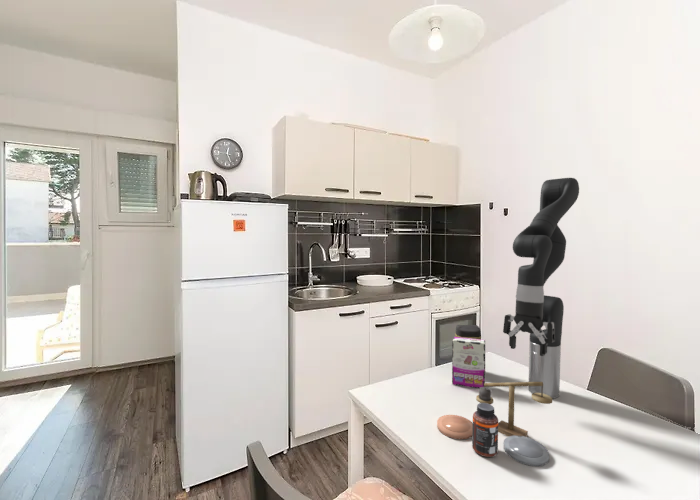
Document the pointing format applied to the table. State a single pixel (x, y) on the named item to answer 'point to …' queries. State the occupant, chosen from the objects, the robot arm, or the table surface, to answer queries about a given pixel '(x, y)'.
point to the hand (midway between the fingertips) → (527, 351)
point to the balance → (511, 404)
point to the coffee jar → (468, 331)
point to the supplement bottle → (485, 430)
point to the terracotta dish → (455, 426)
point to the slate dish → (526, 450)
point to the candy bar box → (468, 362)
